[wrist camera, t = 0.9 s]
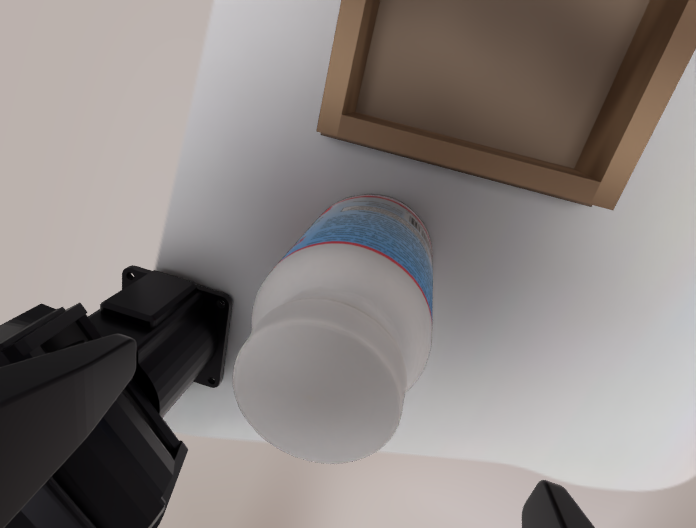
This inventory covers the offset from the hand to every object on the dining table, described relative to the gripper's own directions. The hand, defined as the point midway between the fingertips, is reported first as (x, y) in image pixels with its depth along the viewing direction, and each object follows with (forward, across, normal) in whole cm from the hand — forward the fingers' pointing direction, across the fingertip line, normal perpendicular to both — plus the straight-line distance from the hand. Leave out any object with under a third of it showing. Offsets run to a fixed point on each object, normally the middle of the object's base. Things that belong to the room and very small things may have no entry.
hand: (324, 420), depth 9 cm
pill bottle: (+13, +1, +1) cm, 13 cm away
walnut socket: (+13, -2, -10) cm, 16 cm away
